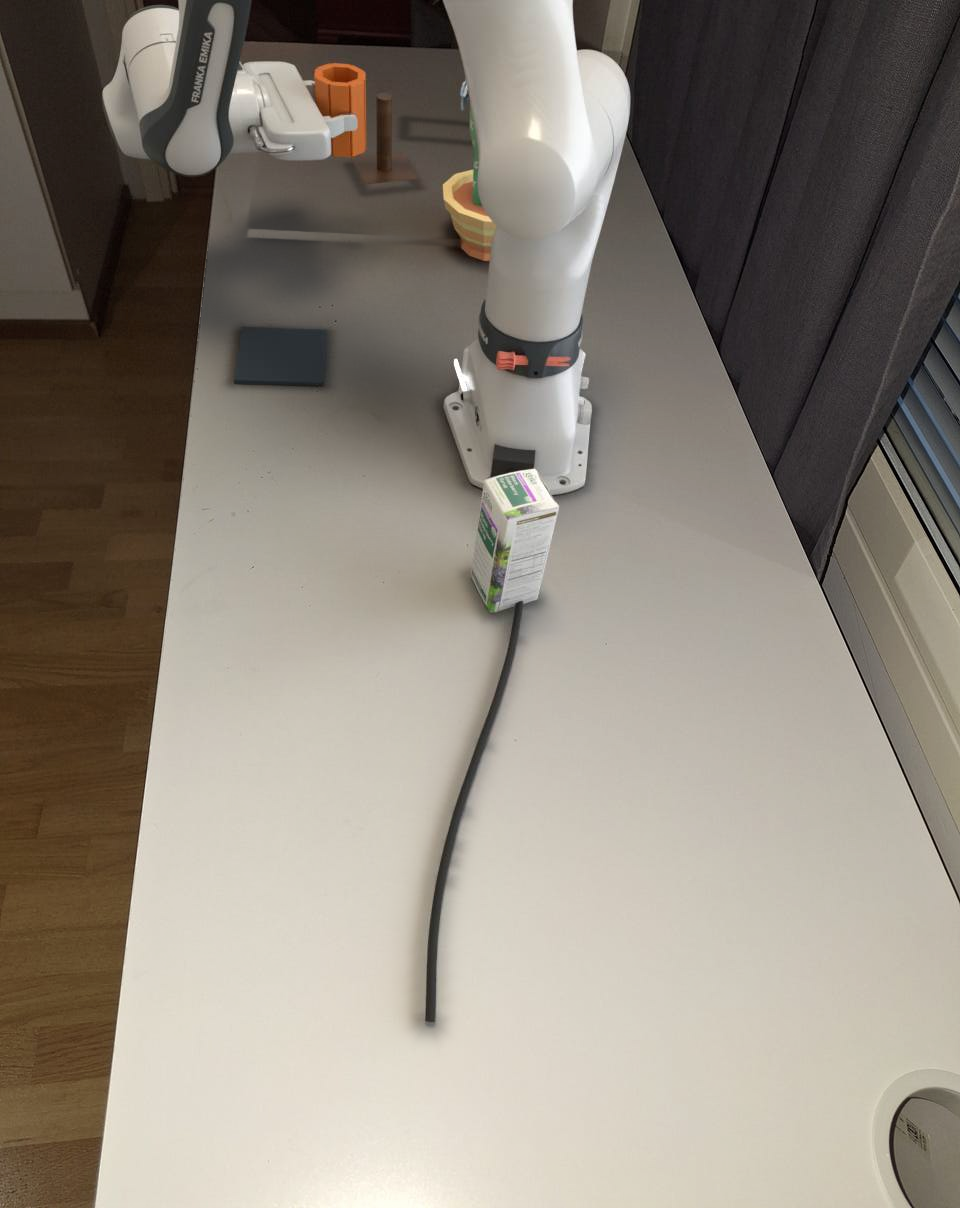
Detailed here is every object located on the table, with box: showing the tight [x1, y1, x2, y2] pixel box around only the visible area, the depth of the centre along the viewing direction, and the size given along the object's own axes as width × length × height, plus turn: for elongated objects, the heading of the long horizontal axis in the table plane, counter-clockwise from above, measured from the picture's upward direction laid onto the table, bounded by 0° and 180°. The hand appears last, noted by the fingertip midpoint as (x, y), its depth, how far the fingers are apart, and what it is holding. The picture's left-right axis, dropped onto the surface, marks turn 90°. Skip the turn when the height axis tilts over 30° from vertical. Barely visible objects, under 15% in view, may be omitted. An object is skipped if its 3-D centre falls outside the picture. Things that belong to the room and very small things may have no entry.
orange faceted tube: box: [313, 62, 367, 158], centre depth 118 cm, size 6×6×9 cm
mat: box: [233, 326, 328, 387], centre depth 116 cm, size 11×11×1 cm
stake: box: [349, 92, 420, 185], centre depth 142 cm, size 9×9×12 cm
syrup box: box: [470, 469, 560, 614], centre depth 91 cm, size 6×6×14 cm
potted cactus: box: [442, 78, 497, 262], centre depth 127 cm, size 15×15×25 cm
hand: (347, 106), depth 118 cm, fingers closed on orange faceted tube, 7 cm apart
